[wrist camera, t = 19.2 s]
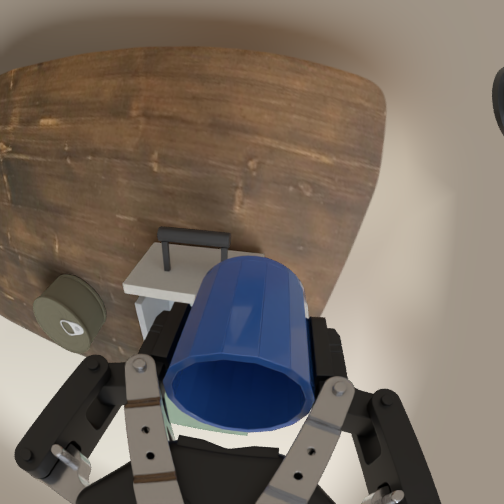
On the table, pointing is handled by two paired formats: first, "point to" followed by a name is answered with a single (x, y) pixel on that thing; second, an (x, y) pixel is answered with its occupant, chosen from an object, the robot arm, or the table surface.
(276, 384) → the cup
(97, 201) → the table surface
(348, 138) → the table surface
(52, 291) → the can
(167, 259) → the drawer
